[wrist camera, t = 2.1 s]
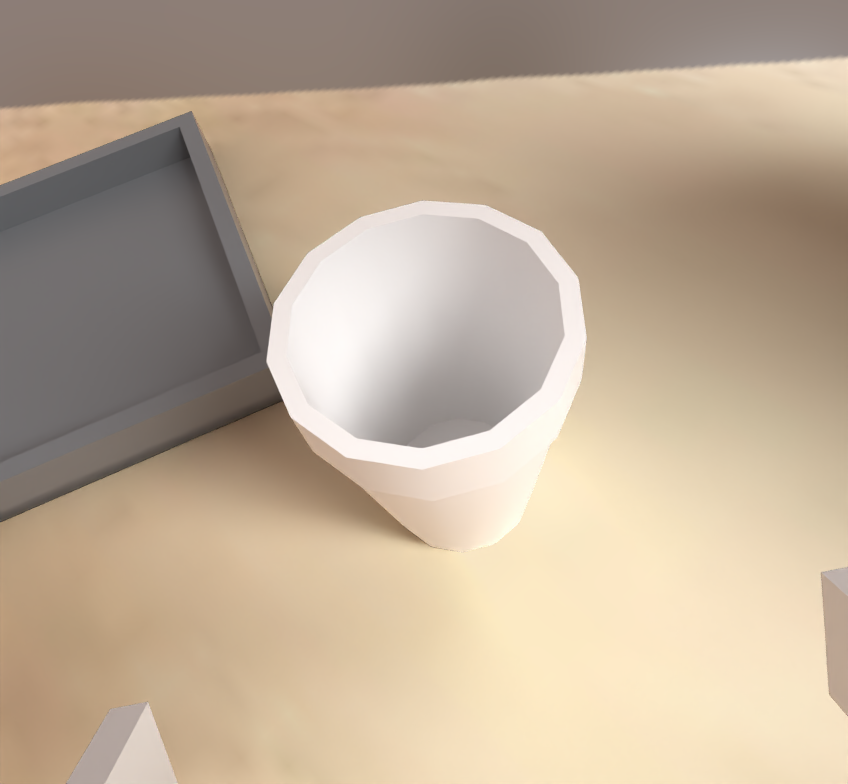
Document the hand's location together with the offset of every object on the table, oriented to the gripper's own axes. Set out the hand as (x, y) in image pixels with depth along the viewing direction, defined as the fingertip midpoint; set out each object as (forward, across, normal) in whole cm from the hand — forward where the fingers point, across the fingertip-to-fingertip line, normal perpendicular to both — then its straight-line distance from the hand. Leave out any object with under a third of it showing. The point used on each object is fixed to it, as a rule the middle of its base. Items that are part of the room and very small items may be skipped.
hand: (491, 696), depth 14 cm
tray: (+28, -19, +7) cm, 34 cm away
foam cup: (+18, 0, -3) cm, 19 cm away
